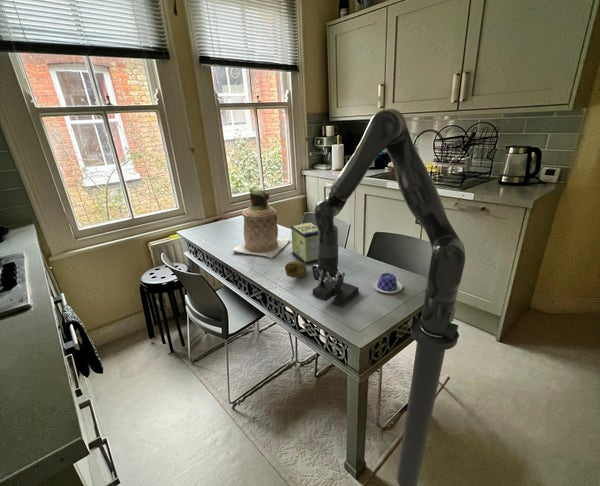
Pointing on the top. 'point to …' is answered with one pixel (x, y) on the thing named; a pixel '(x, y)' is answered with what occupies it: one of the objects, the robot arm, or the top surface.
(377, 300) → the top surface
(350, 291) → the base pad
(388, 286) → the pudding
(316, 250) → the protein box
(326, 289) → the black rectangular block
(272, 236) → the cookie jar
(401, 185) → the robot arm
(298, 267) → the potato
